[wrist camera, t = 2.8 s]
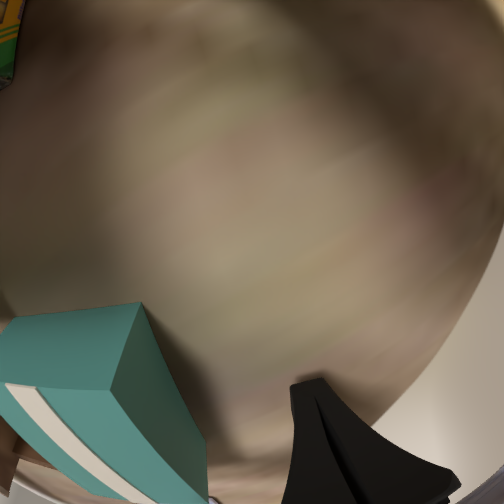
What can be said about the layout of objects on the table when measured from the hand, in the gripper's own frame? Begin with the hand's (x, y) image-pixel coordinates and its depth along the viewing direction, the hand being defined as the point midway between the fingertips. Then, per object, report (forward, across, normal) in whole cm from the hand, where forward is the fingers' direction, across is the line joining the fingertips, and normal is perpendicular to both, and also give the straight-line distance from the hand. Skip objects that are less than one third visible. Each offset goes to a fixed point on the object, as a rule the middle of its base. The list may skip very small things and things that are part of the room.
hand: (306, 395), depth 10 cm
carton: (+2, +9, 0) cm, 9 cm away
